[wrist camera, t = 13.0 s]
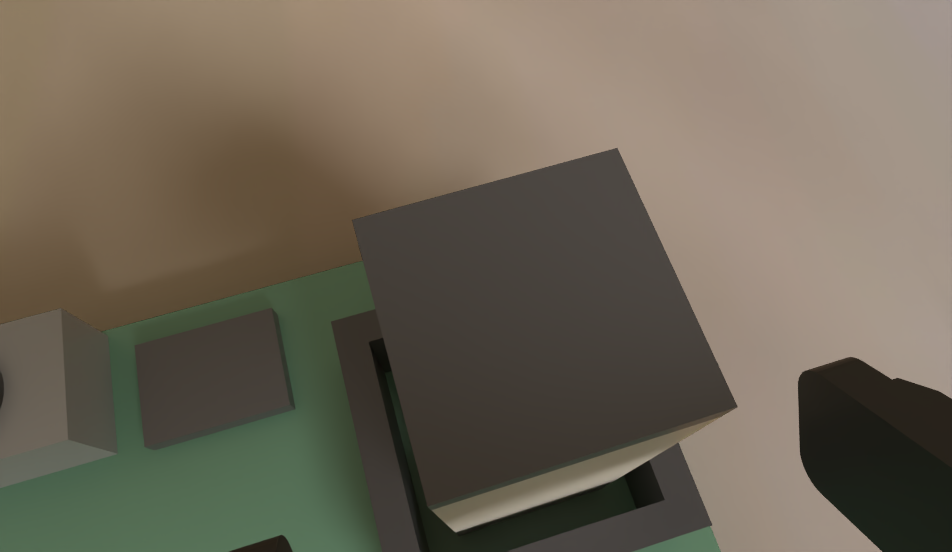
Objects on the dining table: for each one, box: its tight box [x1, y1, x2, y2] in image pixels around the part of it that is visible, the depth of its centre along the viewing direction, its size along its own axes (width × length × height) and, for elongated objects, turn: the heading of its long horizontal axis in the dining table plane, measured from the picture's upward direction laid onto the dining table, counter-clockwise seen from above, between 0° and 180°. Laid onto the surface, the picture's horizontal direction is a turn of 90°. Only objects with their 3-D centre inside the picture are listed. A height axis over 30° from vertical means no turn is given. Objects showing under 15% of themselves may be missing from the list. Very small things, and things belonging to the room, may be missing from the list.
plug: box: [352, 148, 737, 536], centre depth 14 cm, size 4×4×11 cm
